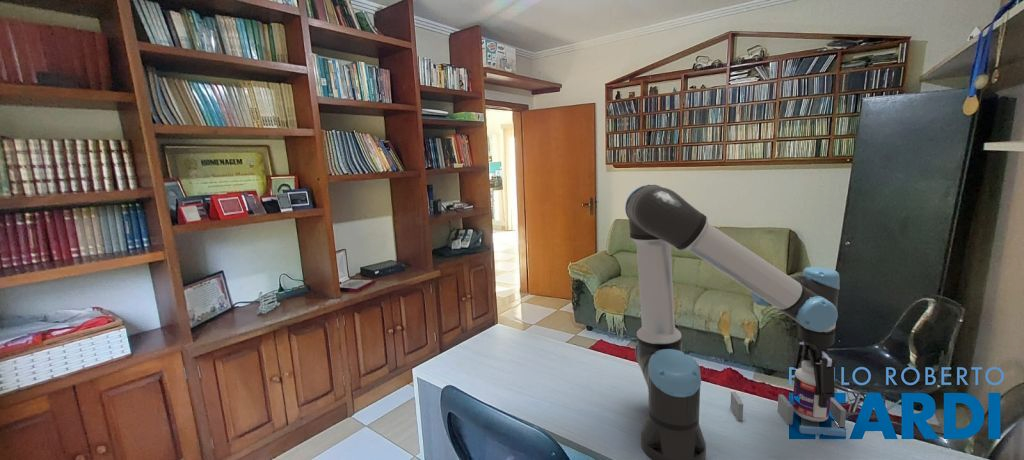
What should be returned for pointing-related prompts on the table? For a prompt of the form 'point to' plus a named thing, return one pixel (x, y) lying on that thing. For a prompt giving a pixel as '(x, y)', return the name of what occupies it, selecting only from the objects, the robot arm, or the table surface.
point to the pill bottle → (806, 392)
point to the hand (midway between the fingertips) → (810, 406)
